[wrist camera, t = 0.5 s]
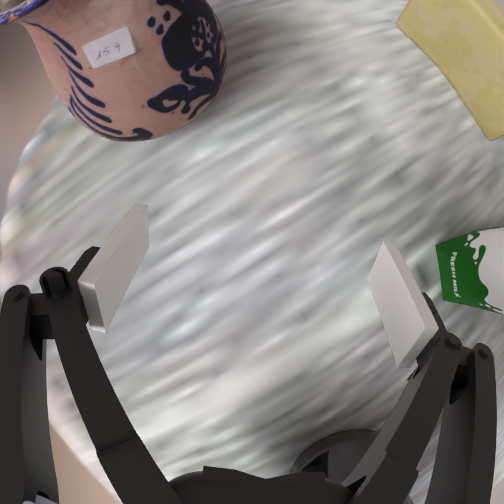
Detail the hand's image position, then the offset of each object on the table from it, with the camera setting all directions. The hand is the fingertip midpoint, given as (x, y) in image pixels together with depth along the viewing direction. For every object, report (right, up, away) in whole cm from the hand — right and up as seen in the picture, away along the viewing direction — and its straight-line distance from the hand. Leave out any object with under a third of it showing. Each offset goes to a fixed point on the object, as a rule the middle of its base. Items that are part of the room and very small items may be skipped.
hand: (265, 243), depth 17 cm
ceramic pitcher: (-14, +19, +17) cm, 29 cm away
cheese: (+29, +26, +17) cm, 42 cm away
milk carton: (+26, -2, +17) cm, 31 cm away
